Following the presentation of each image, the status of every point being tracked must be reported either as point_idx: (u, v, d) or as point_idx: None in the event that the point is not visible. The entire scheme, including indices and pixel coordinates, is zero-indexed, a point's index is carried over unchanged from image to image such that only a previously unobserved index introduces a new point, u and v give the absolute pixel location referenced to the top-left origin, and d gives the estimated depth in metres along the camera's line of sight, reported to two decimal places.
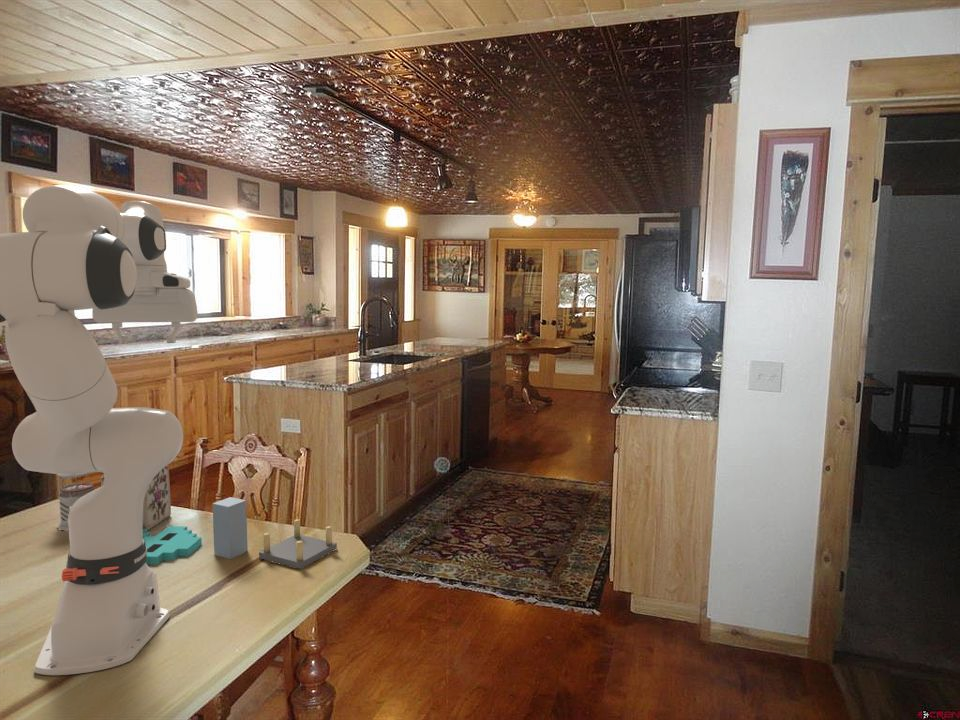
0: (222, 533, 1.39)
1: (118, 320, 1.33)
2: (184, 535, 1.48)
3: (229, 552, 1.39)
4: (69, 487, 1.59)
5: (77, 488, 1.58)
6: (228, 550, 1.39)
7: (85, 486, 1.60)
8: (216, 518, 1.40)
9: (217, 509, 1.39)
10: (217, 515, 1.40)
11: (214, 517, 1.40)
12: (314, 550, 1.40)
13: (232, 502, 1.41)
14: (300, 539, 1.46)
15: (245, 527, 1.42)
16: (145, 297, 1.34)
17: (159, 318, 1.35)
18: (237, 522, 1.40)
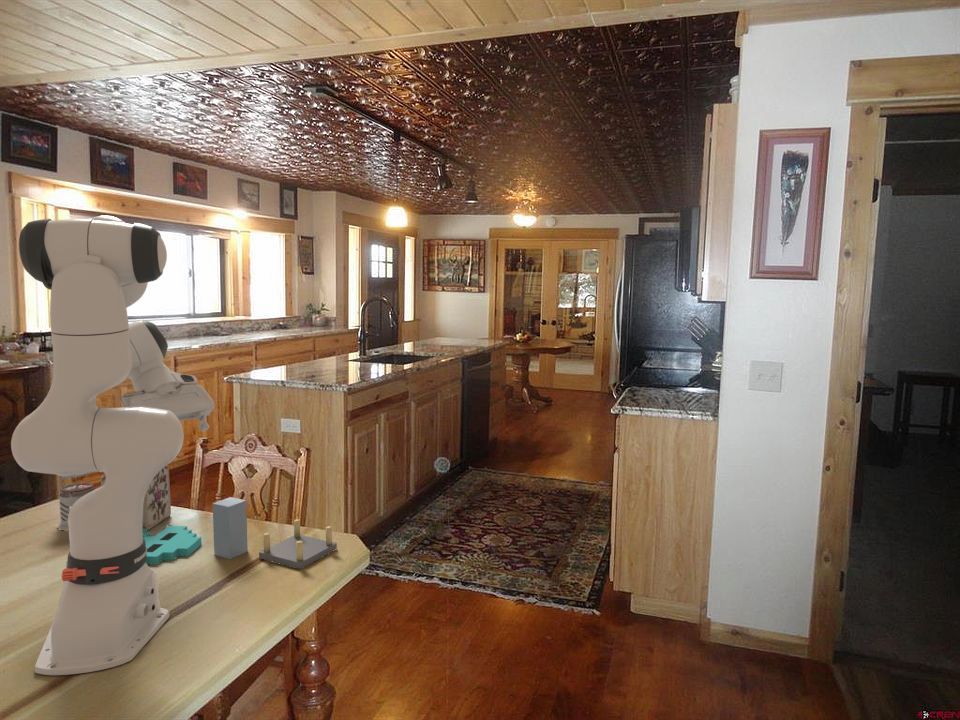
0: (222, 533, 1.39)
1: None
2: (184, 535, 1.48)
3: (229, 552, 1.39)
4: (69, 487, 1.59)
5: (77, 488, 1.58)
6: (228, 550, 1.39)
7: (85, 486, 1.60)
8: (216, 518, 1.40)
9: (217, 509, 1.39)
10: (217, 515, 1.40)
11: (214, 517, 1.40)
12: (314, 550, 1.40)
13: (232, 502, 1.41)
14: (300, 539, 1.46)
15: (245, 527, 1.42)
16: (171, 396, 1.47)
17: (191, 408, 1.48)
18: (237, 522, 1.40)
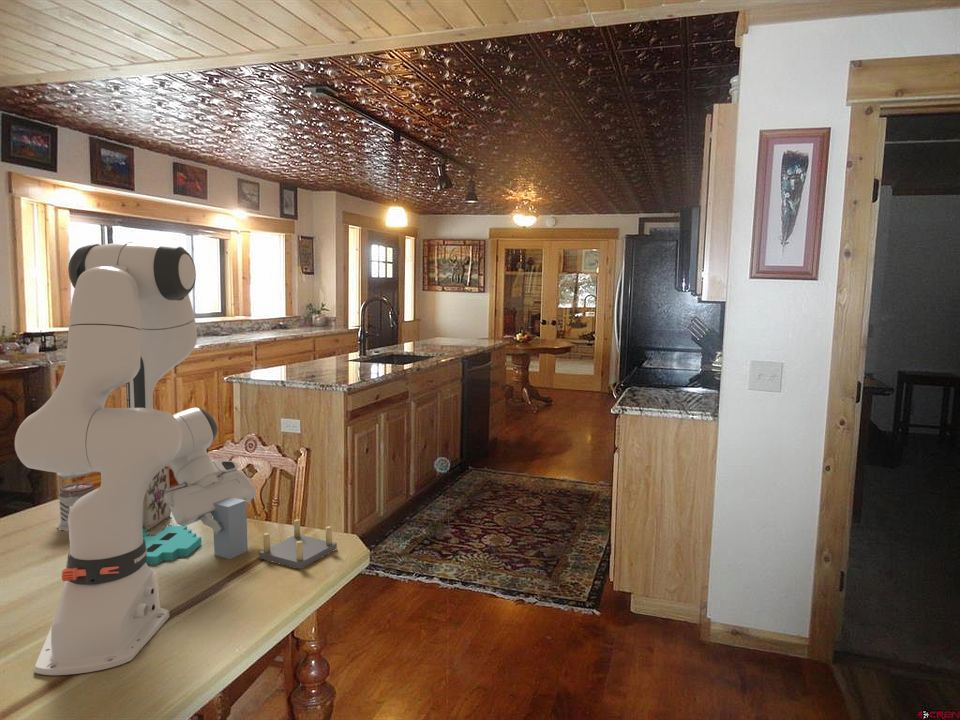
0: (222, 533, 1.39)
1: (205, 510, 1.37)
2: (184, 535, 1.48)
3: (229, 552, 1.39)
4: (69, 487, 1.59)
5: (77, 488, 1.58)
6: (228, 550, 1.39)
7: (85, 486, 1.60)
8: (216, 518, 1.40)
9: (217, 509, 1.39)
10: (217, 515, 1.40)
11: (214, 517, 1.40)
12: (314, 550, 1.40)
13: (232, 502, 1.41)
14: (300, 539, 1.46)
15: (245, 527, 1.42)
16: (213, 486, 1.43)
17: None
18: (237, 522, 1.40)
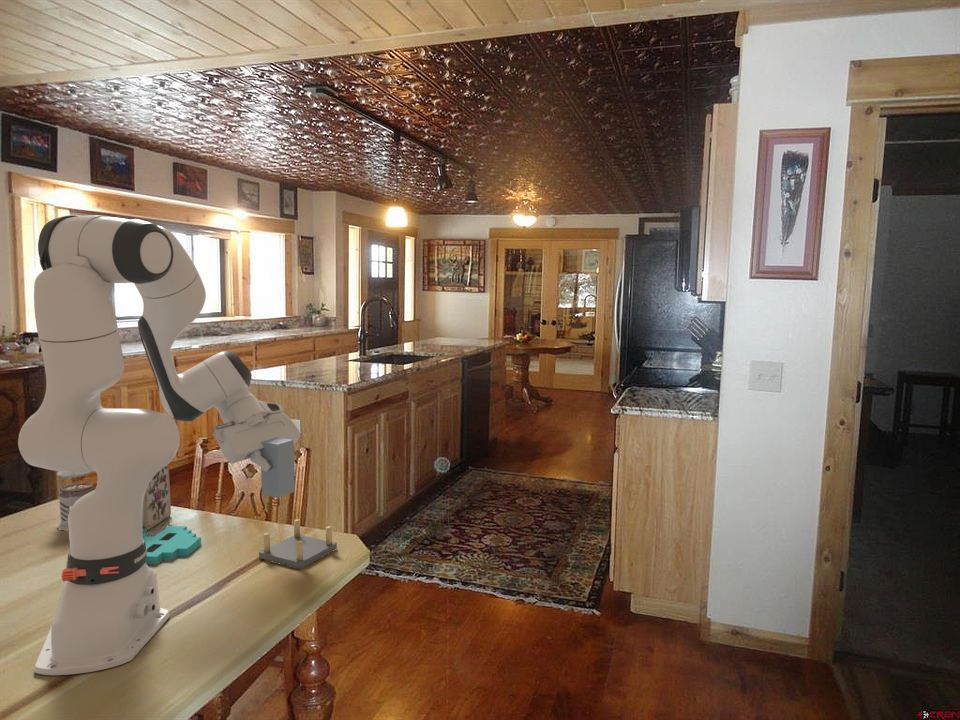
0: (271, 472, 1.38)
1: (254, 448, 1.36)
2: (184, 535, 1.48)
3: (278, 491, 1.38)
4: (69, 487, 1.59)
5: (77, 488, 1.58)
6: (276, 488, 1.38)
7: (85, 486, 1.60)
8: (265, 457, 1.38)
9: (265, 448, 1.38)
10: (265, 454, 1.38)
11: (262, 456, 1.39)
12: (314, 550, 1.40)
13: (279, 441, 1.39)
14: (300, 539, 1.46)
15: (292, 467, 1.41)
16: (260, 426, 1.42)
17: None
18: (286, 461, 1.39)
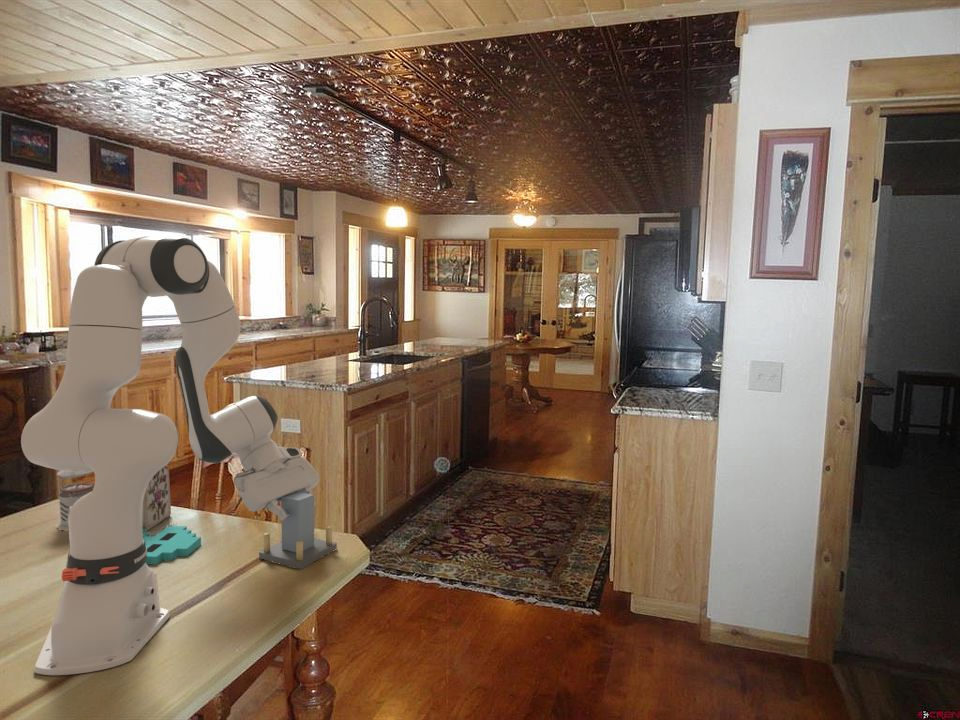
0: (291, 527, 1.39)
1: (274, 496, 1.37)
2: (184, 535, 1.48)
3: None
4: (69, 487, 1.59)
5: (77, 488, 1.58)
6: None
7: (85, 486, 1.60)
8: None
9: (286, 503, 1.39)
10: None
11: None
12: (314, 550, 1.40)
13: (300, 496, 1.40)
14: None
15: (312, 522, 1.42)
16: (280, 473, 1.43)
17: (299, 485, 1.44)
18: (306, 516, 1.40)
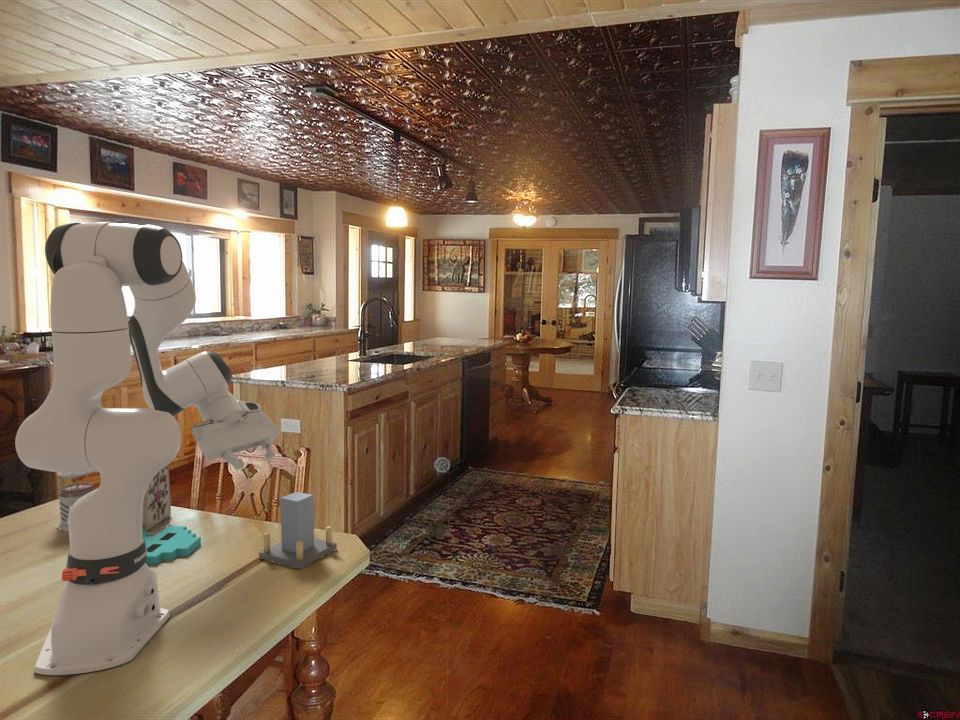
0: (291, 528, 1.39)
1: (231, 445, 1.41)
2: (183, 535, 1.48)
3: None
4: (69, 487, 1.59)
5: (77, 488, 1.58)
6: None
7: (85, 486, 1.60)
8: (285, 513, 1.39)
9: (285, 504, 1.39)
10: (285, 510, 1.39)
11: (282, 512, 1.39)
12: (314, 550, 1.40)
13: (299, 497, 1.40)
14: None
15: (312, 522, 1.42)
16: (238, 425, 1.47)
17: (257, 437, 1.49)
18: (305, 517, 1.40)
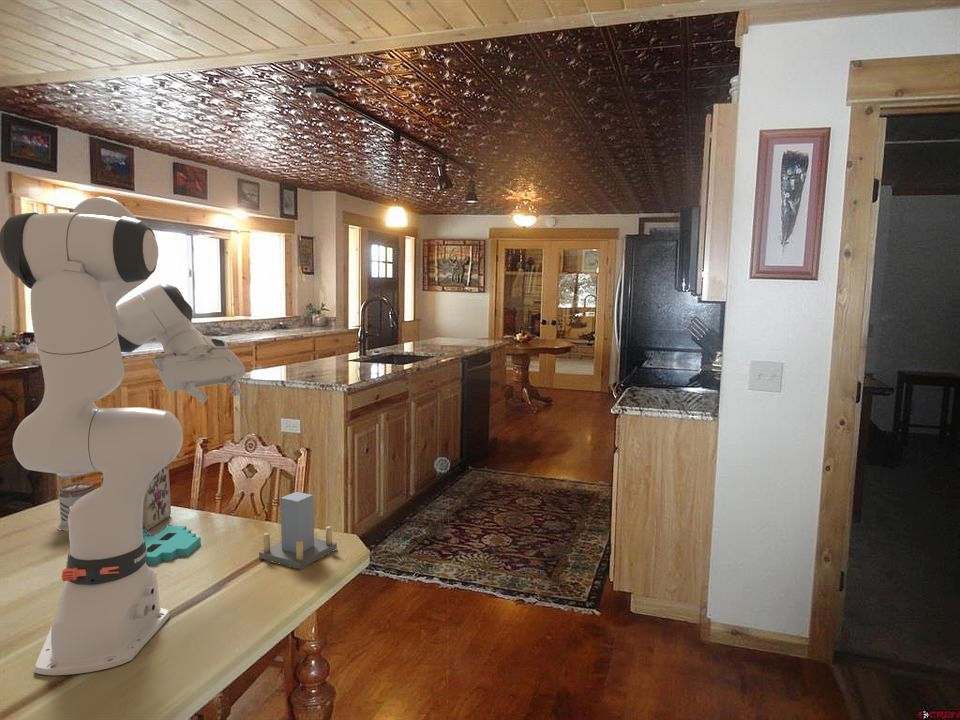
0: (291, 528, 1.39)
1: (194, 378, 1.38)
2: (183, 535, 1.48)
3: None
4: (69, 487, 1.59)
5: (77, 488, 1.58)
6: None
7: (85, 486, 1.60)
8: (285, 513, 1.39)
9: (285, 504, 1.39)
10: (285, 510, 1.39)
11: (282, 512, 1.39)
12: (314, 550, 1.40)
13: (299, 497, 1.40)
14: None
15: (312, 522, 1.42)
16: (203, 359, 1.44)
17: (223, 372, 1.45)
18: (305, 517, 1.40)
